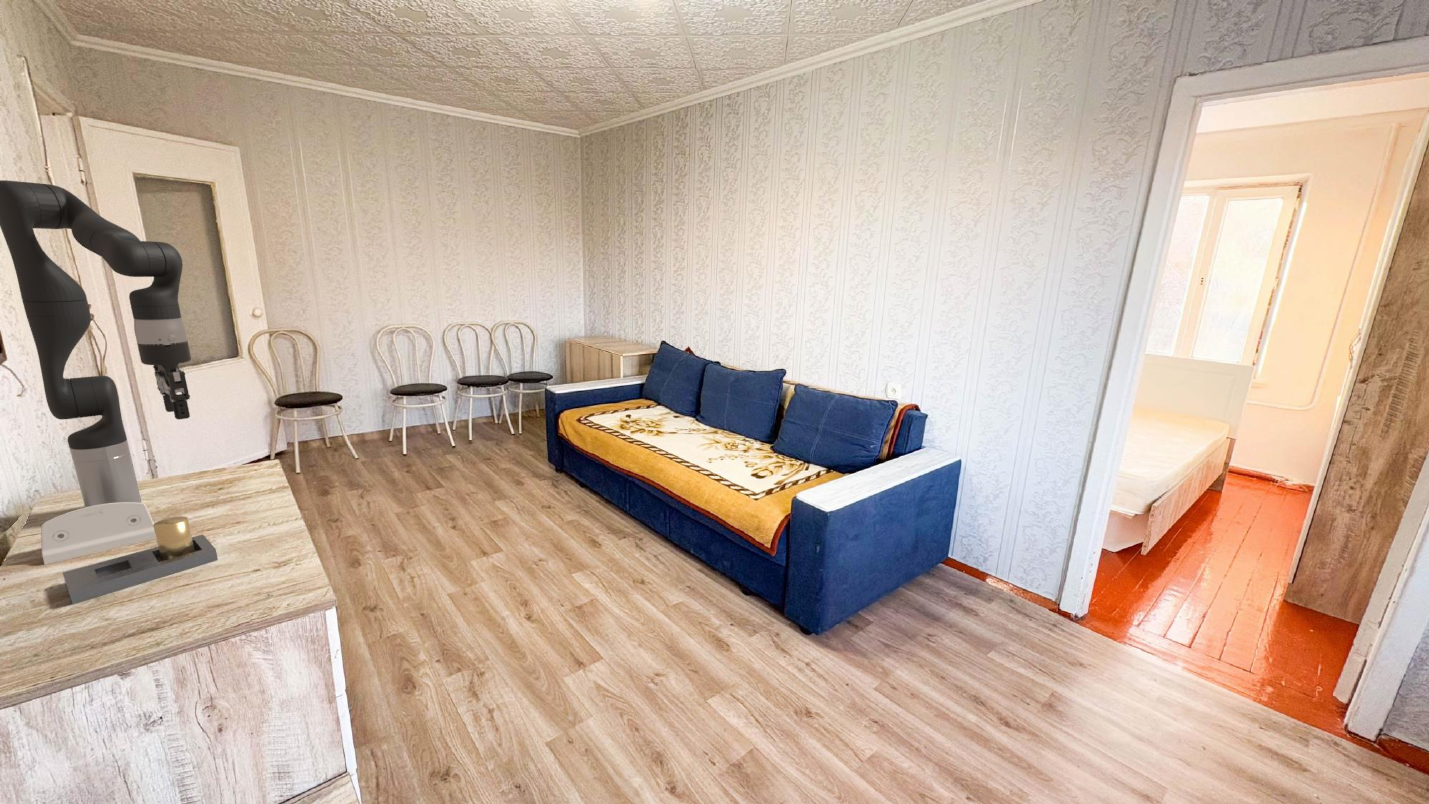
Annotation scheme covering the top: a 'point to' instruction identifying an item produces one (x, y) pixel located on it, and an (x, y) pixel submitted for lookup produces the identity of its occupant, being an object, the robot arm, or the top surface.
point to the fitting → (173, 537)
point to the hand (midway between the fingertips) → (178, 414)
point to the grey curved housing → (95, 530)
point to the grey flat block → (133, 570)
